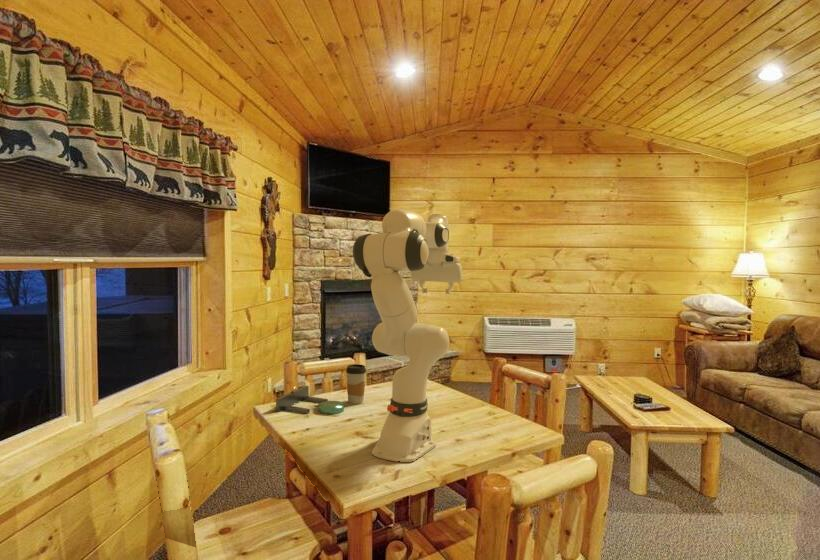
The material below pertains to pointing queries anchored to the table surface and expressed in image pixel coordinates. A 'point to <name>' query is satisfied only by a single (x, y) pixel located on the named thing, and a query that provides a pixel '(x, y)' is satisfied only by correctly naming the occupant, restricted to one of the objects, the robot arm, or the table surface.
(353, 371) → the coffee cup
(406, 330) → the robot arm
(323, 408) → the cover disc
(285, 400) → the cradle
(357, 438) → the table surface
